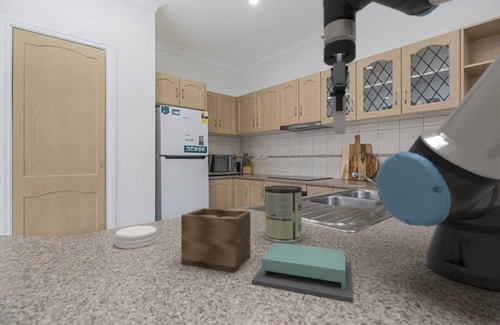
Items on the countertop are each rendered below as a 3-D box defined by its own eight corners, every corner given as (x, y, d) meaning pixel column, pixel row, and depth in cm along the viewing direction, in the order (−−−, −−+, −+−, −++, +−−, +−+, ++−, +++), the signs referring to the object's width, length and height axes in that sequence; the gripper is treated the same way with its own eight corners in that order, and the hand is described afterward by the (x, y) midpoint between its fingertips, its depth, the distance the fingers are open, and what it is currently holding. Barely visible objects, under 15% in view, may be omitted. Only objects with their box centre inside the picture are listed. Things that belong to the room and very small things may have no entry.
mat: (350, 265, 49) (350, 262, 49) (352, 302, 36) (352, 298, 36) (273, 255, 55) (273, 252, 55) (251, 283, 42) (251, 280, 42)
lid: (344, 266, 47) (344, 250, 47) (345, 289, 39) (345, 270, 39) (275, 256, 52) (275, 242, 52) (261, 275, 44) (261, 258, 44)
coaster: (137, 236, 70) (137, 223, 70) (165, 240, 67) (165, 227, 67) (105, 246, 61) (105, 232, 61) (135, 252, 57) (135, 237, 57)
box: (250, 256, 54) (250, 211, 54) (234, 272, 46) (234, 219, 46) (203, 249, 58) (203, 208, 58) (181, 263, 50) (181, 215, 50)
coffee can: (265, 231, 74) (265, 185, 74) (300, 232, 73) (299, 185, 73) (264, 242, 64) (264, 188, 64) (304, 243, 63) (304, 189, 63)
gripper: (326, 66, 73) (326, 136, 73) (319, 20, 50) (319, 123, 50) (353, 62, 71) (354, 135, 71) (359, 12, 47) (359, 121, 47)
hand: (339, 130), depth 60 cm, fingers open, 13 cm apart
